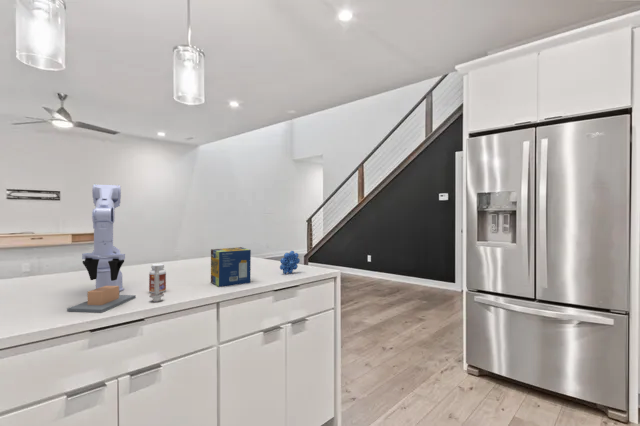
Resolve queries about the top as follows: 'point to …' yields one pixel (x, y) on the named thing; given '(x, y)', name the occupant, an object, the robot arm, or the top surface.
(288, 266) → the grapes
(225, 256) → the protein box
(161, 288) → the pill bottle
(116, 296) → the tan rectangular block
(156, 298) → the white flanged spindle
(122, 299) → the rubber mat
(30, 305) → the top surface
